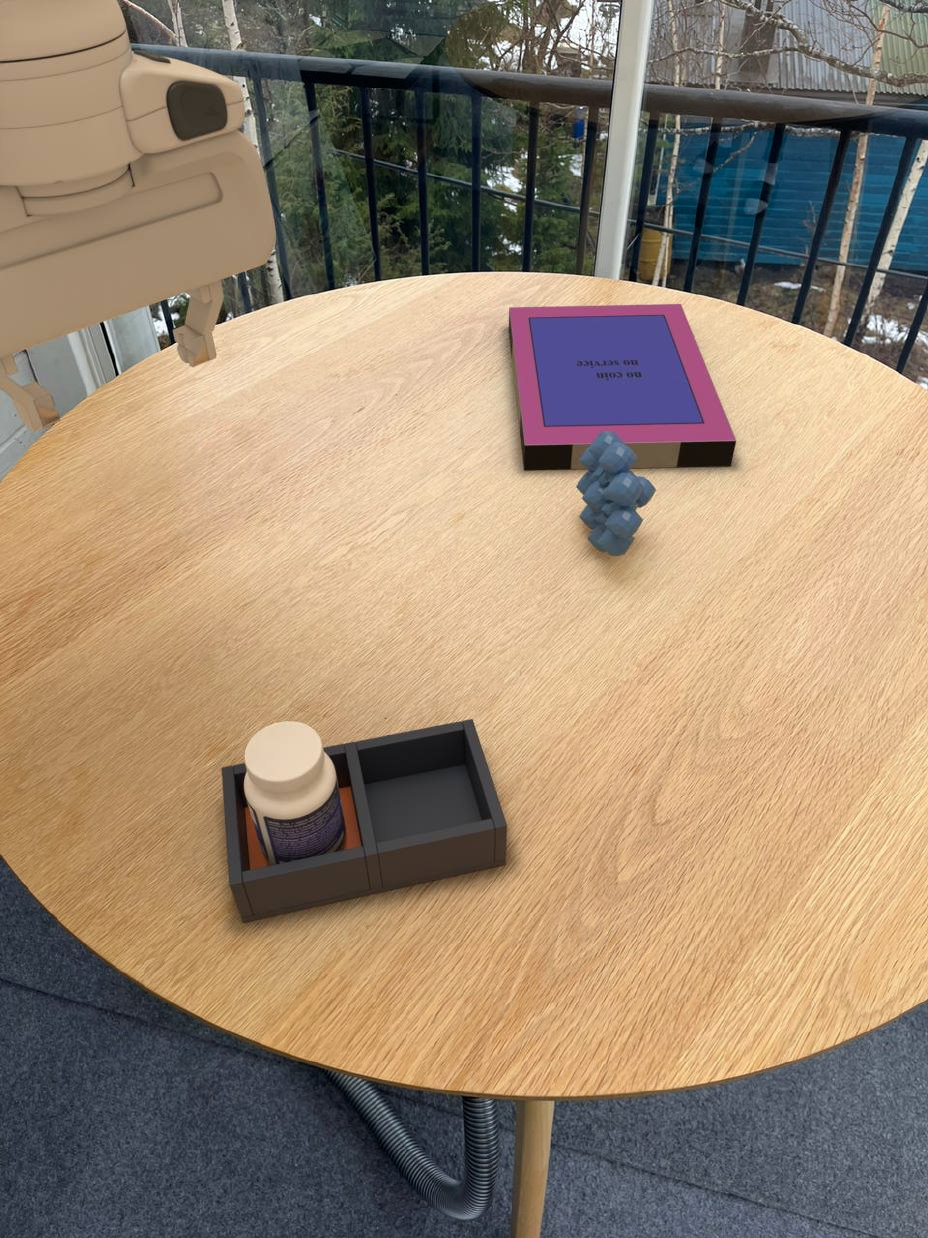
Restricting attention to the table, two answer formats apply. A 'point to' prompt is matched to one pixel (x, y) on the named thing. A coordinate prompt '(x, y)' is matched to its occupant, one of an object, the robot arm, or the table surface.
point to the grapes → (612, 494)
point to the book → (614, 386)
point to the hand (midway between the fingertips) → (123, 390)
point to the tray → (378, 823)
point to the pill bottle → (293, 793)
